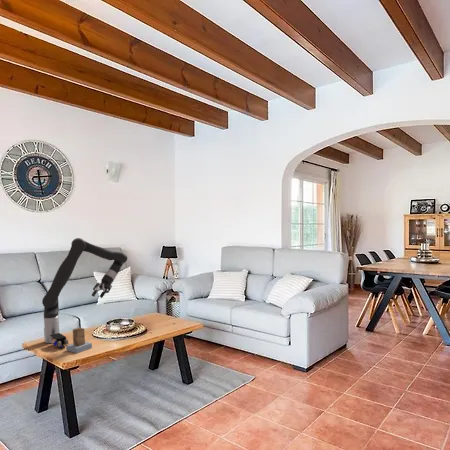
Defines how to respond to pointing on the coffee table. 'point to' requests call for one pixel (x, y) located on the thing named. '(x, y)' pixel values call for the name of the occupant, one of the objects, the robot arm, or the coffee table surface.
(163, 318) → the coffee table surface
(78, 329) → the walnut block
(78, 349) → the blue-grey square slab
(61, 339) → the figurine character
